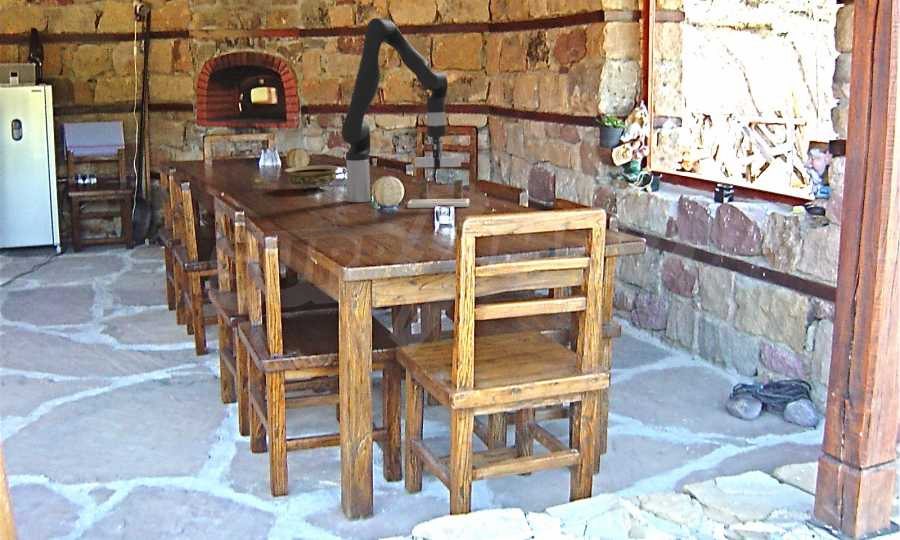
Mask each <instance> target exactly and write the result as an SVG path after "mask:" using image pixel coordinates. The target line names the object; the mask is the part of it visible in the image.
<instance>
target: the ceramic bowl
mask: <svg viewBox="0 0 900 540" xmlns="http://www.w3.org/2000/svg"><path fill="white" fill-rule="evenodd" d="M338 169H339V167H338V166H336V165H329V164H328V165H327V164H326V165H325V164H324V165H322V164H321V165H307V166H306V165H305V166H304V165H303V166H295V167H290V168H285V170H284V172H285V173H287V179H288V182H289V183H291V184H292V185H293V186H295V187H298V188H305V189H304V190H306V191H305V192H316V191H315V190H320V191H322V190H321V189H322V188H321V187H325V186H327V185H330V184H331V183H333V182H334V181H335V180H336V178H337V173H336V171H338Z"/></svg>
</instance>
